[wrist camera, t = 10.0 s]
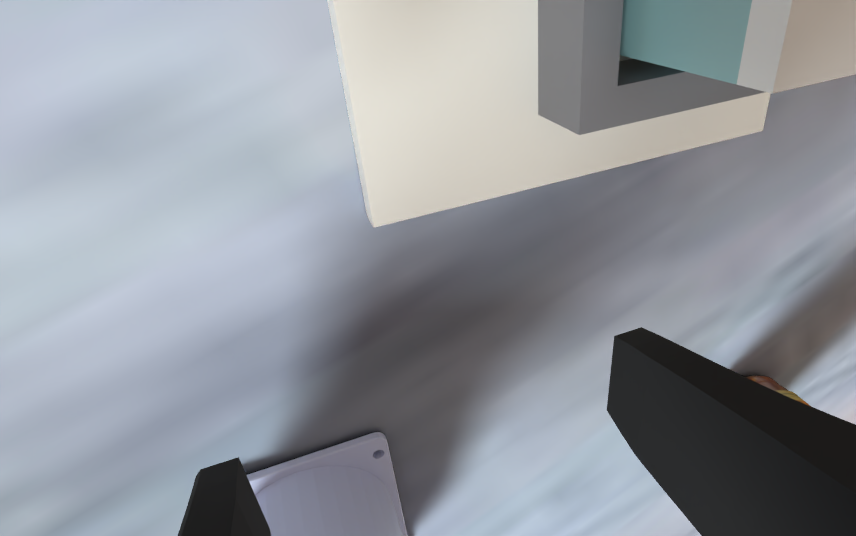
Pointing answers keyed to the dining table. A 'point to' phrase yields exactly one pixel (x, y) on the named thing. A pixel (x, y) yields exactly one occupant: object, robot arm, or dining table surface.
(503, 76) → the outlet plate
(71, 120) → the dining table surface
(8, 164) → the dining table surface
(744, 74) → the block
